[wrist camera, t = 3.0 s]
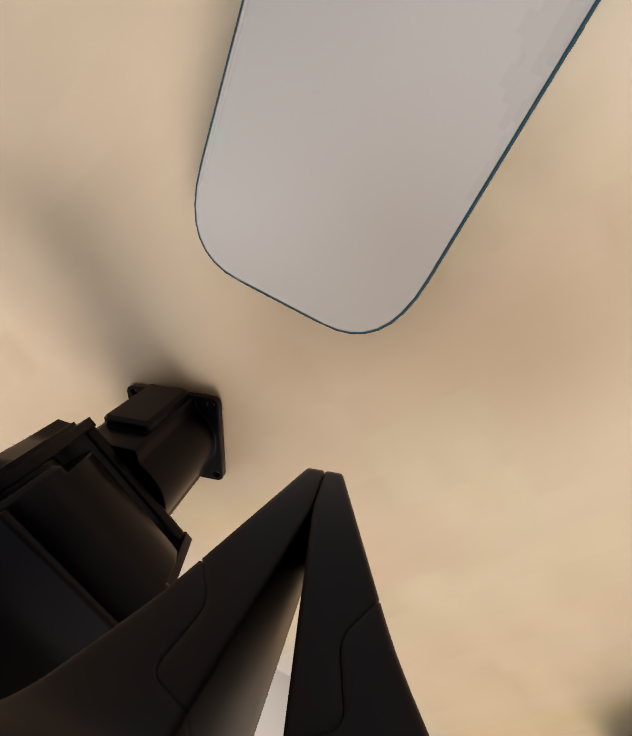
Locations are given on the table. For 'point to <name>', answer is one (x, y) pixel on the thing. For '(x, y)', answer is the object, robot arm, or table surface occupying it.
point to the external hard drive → (366, 141)
